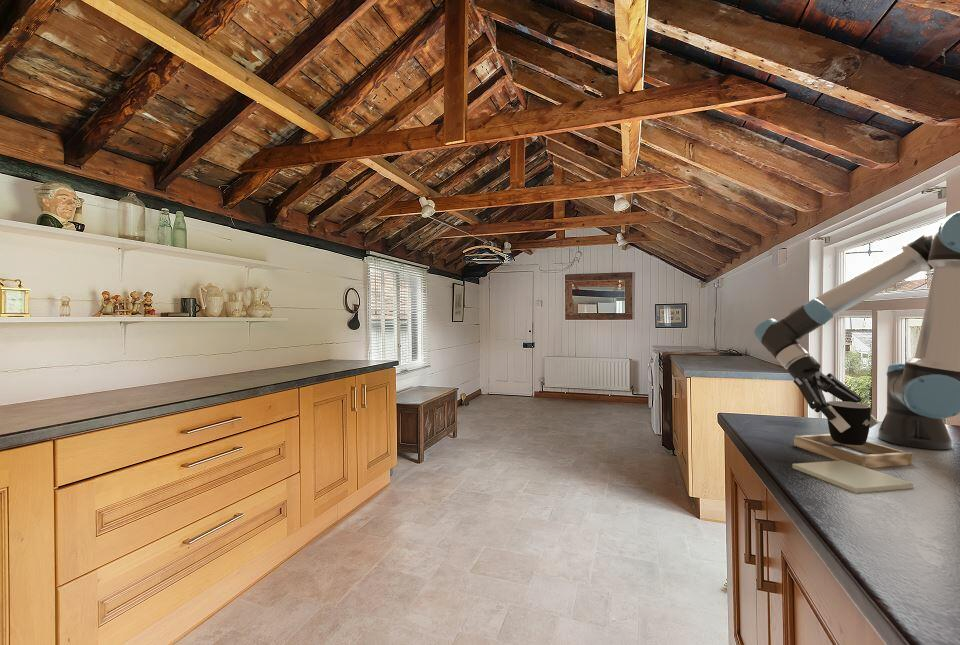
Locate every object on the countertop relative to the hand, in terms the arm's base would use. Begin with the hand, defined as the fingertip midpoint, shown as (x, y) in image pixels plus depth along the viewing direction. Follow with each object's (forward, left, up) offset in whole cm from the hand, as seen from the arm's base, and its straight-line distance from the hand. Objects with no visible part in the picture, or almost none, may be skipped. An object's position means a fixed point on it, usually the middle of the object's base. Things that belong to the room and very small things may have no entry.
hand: (860, 427), depth 112 cm
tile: (+17, +11, -8) cm, 22 cm away
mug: (0, -3, -5) cm, 5 cm away
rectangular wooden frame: (0, -2, -8) cm, 8 cm away
